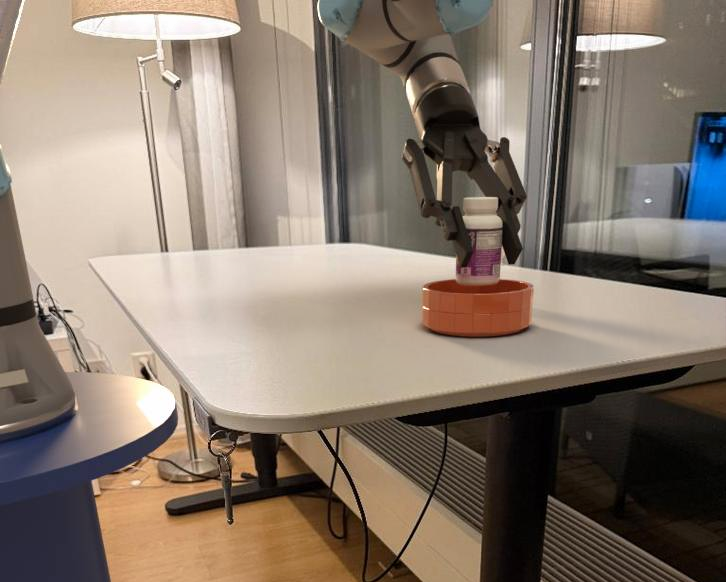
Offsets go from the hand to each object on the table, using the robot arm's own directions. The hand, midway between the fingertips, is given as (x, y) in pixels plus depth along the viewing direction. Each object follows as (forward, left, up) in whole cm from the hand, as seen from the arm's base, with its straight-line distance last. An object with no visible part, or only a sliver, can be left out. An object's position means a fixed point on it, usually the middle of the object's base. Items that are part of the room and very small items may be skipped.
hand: (491, 258), depth 83 cm
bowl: (0, +4, -9) cm, 9 cm away
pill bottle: (0, +4, -4) cm, 5 cm away
